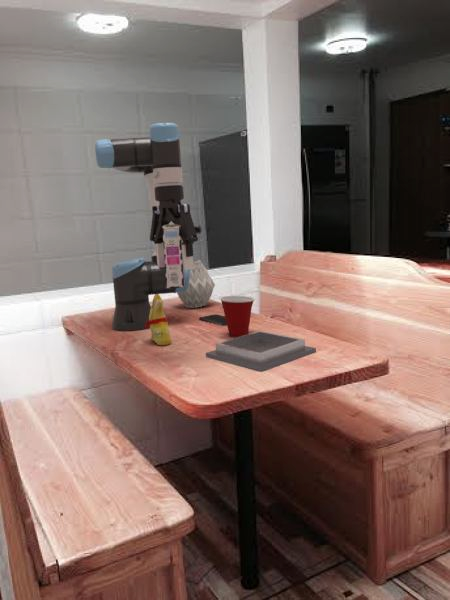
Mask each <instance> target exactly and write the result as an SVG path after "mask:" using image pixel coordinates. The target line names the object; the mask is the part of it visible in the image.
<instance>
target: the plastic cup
mask: <svg viewBox="0 0 450 600" xmlns="http://www.w3.org/2000/svg"><path fill="white" fill-rule="evenodd" d="M219 299H220V303H221V305H222V309H223V314H224V316H225V319H226V324H227V331H228V335H229V337H232V338H236V337H240V336H243V335H246V334H249V330H250V323H251V315H252V314H251V313H252V308H253V304H254V301H255V300H256V298H255V297H252V296H247V295H224V296H221V297H219Z"/></svg>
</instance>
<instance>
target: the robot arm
mask: <svg viewBox="0 0 450 600" xmlns="http://www.w3.org/2000/svg"><path fill="white" fill-rule="evenodd" d="M179 130H180V129H179V126H178V124H177V123H175V122H157V123H153V124H151V125H150V126H149V136H146V137H128V138H110V139H109V138H105V139H97V140H96V141H95V144H94V149H95V152H94V153H95V159H96V165H97V167H99V169H100V168H101V169H113V170H116V171H118V172H119V171H120V172H126V173H132V174H133V173H135V174H136V173H143V178H144V179H145V180H146V181H148V185H149V195H150V196H149V197H150V206H151V217H152V218H151V226H150V234H149V241H150V242H153V243H154V252H153V253H152V254H151V256H150V257H151V260H150V261H147V259H146V258H145V257H137V258H136V257H135V258H130V259H126V260H125V259H124V260H122V261H118V262H116V263H115V264H114V263H113V266H112V268H111V270H112V272H111V273H112V276H111V279H112V282H113V294H114V305H115V307H114V311H113V315H112V321H111V323H112V325H111V326H112V329H113V330H115V331H121V332H122V331H123V332H126V331H139V330H145V329H146V327H145V324H146V323H147V321H149V313H150V309H151V306H152V305H151V304H150V297H149V296H154V295H155V294H159V295H163V294H164V295H165V294H177V292H184V291H186V290H187V289H188V286H189V276H190V269H194V267H193V260H194V248H193V247H194V243H195V242H198V241H199V238H198V234H197V231H196V227H195V224H194V221H193V217H192V214H191V205H190V204H189V203H183V204H182V200H184V198H185V195H184V194H185V193H184V186H183V185H182V184H183V182H184V180H183V167H182V160H181V157H182V156H181V142H180V138H181V136H180V131H179ZM169 224H175V225H180V227H181V238H182V255H183V268H184V274H185V283H184V288H171V289H167V288H166V273H165V260H164V246H163V231H162V226H163V225H169ZM147 329H150V324H149V327H148V328H147Z"/></svg>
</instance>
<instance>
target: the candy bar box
mask: <svg viewBox="0 0 450 600" xmlns="http://www.w3.org/2000/svg"><path fill="white" fill-rule="evenodd" d="M162 231H163V246H164V260H165V273H166V288H167V289H171V288H184V283H185V274H184V268H183V255H182V243H183V241H182V238H181V227H180V225H175V224H169V225H163V226H162Z"/></svg>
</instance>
